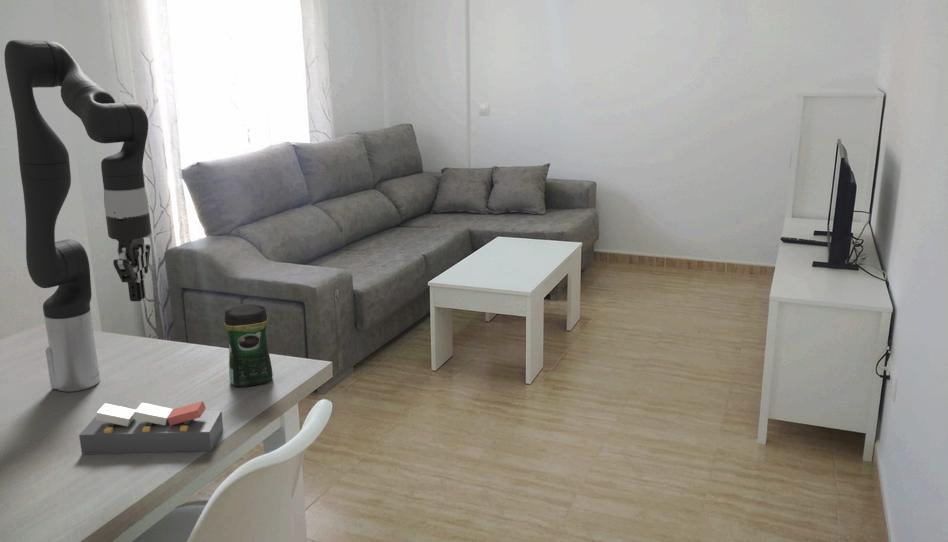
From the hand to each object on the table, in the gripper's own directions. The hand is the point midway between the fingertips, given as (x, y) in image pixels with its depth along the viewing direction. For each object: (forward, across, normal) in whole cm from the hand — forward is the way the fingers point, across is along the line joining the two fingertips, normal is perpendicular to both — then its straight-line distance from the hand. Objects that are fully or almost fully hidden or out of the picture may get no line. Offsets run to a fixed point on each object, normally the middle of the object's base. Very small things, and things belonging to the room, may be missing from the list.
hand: (137, 299), depth 151 cm
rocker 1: (+23, +6, -4) cm, 24 cm away
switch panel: (+27, +6, +2) cm, 28 cm away
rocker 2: (+23, +6, +2) cm, 24 cm away
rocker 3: (+23, +6, +10) cm, 25 cm away
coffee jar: (+27, -22, +15) cm, 38 cm away
